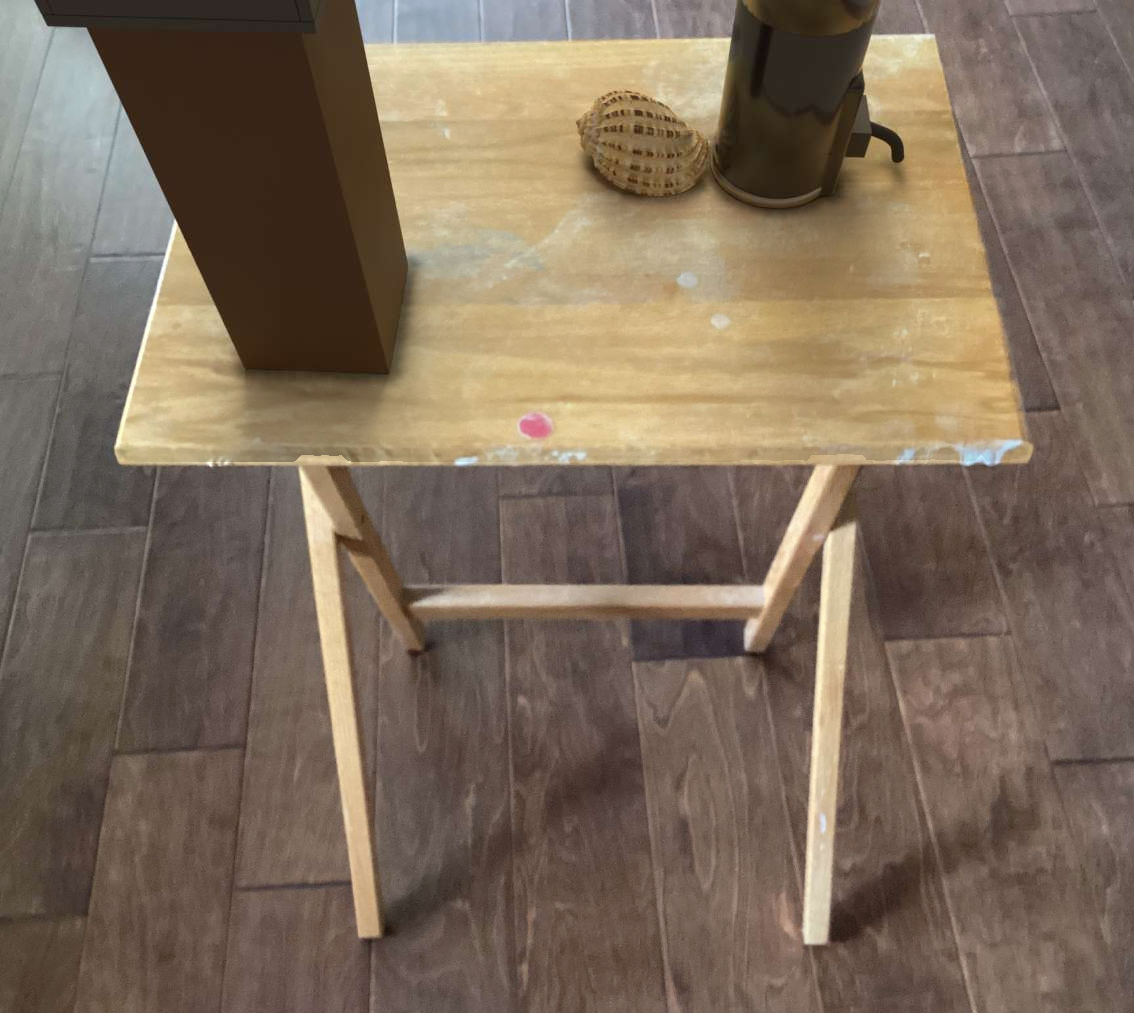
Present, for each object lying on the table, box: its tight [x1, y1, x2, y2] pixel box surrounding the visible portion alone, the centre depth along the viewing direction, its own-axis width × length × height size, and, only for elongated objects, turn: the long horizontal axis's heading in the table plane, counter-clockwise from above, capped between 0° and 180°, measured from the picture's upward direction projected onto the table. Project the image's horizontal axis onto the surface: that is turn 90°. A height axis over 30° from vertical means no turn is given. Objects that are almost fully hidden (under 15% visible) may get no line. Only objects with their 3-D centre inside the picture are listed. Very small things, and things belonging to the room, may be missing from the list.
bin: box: [33, 0, 409, 374], centre depth 56 cm, size 12×12×32 cm
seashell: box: [575, 89, 712, 197], centre depth 75 cm, size 8×6×10 cm
